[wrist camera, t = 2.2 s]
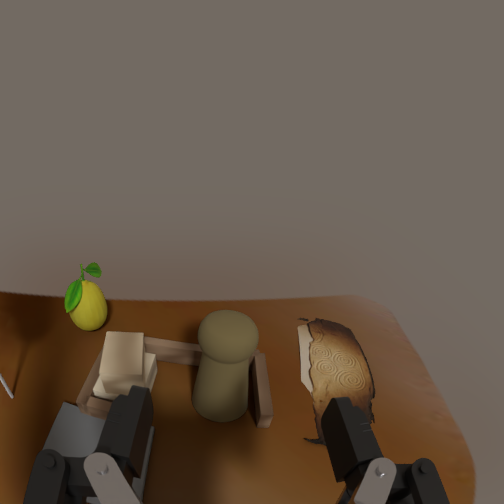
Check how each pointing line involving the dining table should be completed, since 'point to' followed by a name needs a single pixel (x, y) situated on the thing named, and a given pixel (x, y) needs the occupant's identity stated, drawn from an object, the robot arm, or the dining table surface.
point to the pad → (86, 440)
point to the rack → (188, 356)
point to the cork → (224, 365)
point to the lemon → (86, 301)
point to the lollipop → (6, 386)
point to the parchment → (334, 368)
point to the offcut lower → (101, 394)
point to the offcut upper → (123, 362)
